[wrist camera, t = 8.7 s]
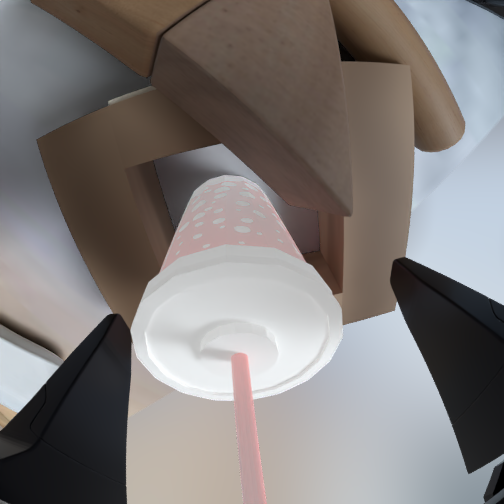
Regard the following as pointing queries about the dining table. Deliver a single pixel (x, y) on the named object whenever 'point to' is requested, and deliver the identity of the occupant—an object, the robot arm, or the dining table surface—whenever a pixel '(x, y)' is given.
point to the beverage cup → (236, 311)
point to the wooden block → (272, 78)
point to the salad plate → (23, 369)
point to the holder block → (196, 136)
